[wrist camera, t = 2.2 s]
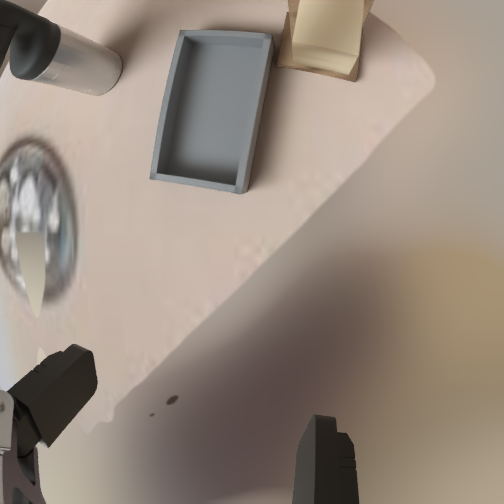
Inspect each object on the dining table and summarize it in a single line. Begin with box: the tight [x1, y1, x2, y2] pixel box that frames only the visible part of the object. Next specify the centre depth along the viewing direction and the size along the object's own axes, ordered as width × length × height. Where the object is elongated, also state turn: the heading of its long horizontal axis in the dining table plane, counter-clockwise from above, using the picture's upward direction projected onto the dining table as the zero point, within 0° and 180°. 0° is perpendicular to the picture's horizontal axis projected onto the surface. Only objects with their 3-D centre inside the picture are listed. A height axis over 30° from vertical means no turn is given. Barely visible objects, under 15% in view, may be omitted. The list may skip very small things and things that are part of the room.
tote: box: [150, 30, 275, 194], centre depth 40 cm, size 14×24×5 cm, turn 170°
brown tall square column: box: [277, 0, 374, 82], centre depth 22 cm, size 12×12×32 cm
